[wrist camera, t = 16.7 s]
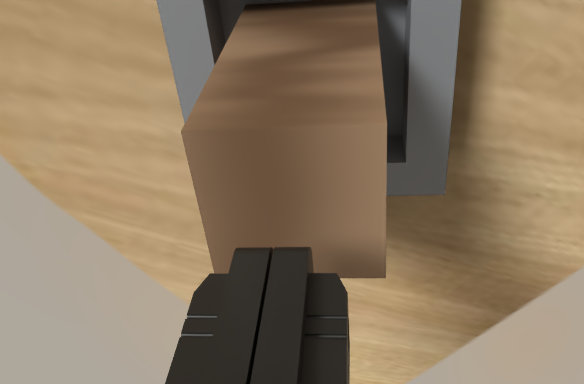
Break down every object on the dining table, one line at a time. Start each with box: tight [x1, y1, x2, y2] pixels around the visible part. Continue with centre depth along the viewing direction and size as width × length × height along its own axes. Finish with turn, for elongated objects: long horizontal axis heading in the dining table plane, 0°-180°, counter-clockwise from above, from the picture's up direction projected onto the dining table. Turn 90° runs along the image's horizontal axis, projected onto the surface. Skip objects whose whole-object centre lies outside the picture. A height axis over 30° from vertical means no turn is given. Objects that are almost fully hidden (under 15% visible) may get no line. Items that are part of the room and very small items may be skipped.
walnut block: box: [181, 0, 387, 278], centre depth 17 cm, size 4×4×9 cm
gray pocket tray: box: [157, 0, 462, 196], centre depth 20 cm, size 10×10×2 cm
